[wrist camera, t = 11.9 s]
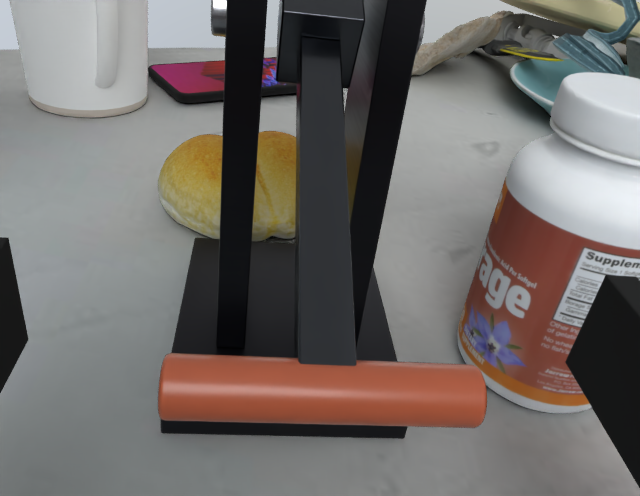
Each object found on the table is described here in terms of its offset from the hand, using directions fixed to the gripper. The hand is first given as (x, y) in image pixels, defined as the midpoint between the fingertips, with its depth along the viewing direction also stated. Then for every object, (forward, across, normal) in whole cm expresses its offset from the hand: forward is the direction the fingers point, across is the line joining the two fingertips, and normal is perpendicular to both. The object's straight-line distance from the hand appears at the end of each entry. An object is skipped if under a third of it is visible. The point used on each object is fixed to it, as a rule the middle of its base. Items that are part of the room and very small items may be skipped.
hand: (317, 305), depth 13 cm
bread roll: (+18, -2, -8) cm, 19 cm away
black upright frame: (+7, 0, -7) cm, 10 cm away
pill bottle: (+6, +10, -8) cm, 14 cm away
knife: (+50, +20, -5) cm, 54 cm away
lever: (+3, 0, +1) cm, 4 cm away
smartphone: (+39, -3, -7) cm, 40 cm away
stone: (+52, +16, -3) cm, 54 cm away
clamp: (+53, +34, -5) cm, 63 cm away
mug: (+31, -13, -8) cm, 35 cm away
